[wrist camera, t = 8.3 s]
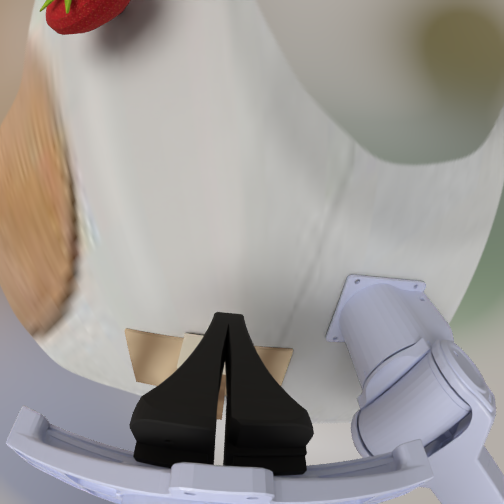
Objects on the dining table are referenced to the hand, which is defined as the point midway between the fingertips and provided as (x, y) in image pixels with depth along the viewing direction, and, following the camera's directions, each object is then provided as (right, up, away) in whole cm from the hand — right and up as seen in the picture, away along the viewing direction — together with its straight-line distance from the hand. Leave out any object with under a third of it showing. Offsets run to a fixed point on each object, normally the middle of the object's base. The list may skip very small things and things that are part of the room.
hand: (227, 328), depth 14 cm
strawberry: (-9, +23, 0) cm, 25 cm away
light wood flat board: (-4, -10, +16) cm, 19 cm away
